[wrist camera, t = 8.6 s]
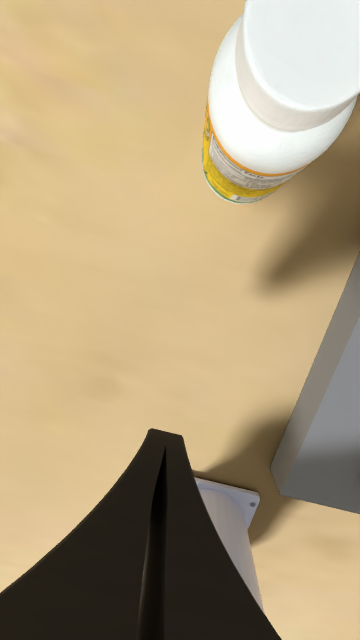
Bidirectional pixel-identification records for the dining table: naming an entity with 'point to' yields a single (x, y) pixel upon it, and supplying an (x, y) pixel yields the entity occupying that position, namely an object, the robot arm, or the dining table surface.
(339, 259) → the dining table surface
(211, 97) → the supplement bottle
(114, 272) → the dining table surface
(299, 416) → the panel
